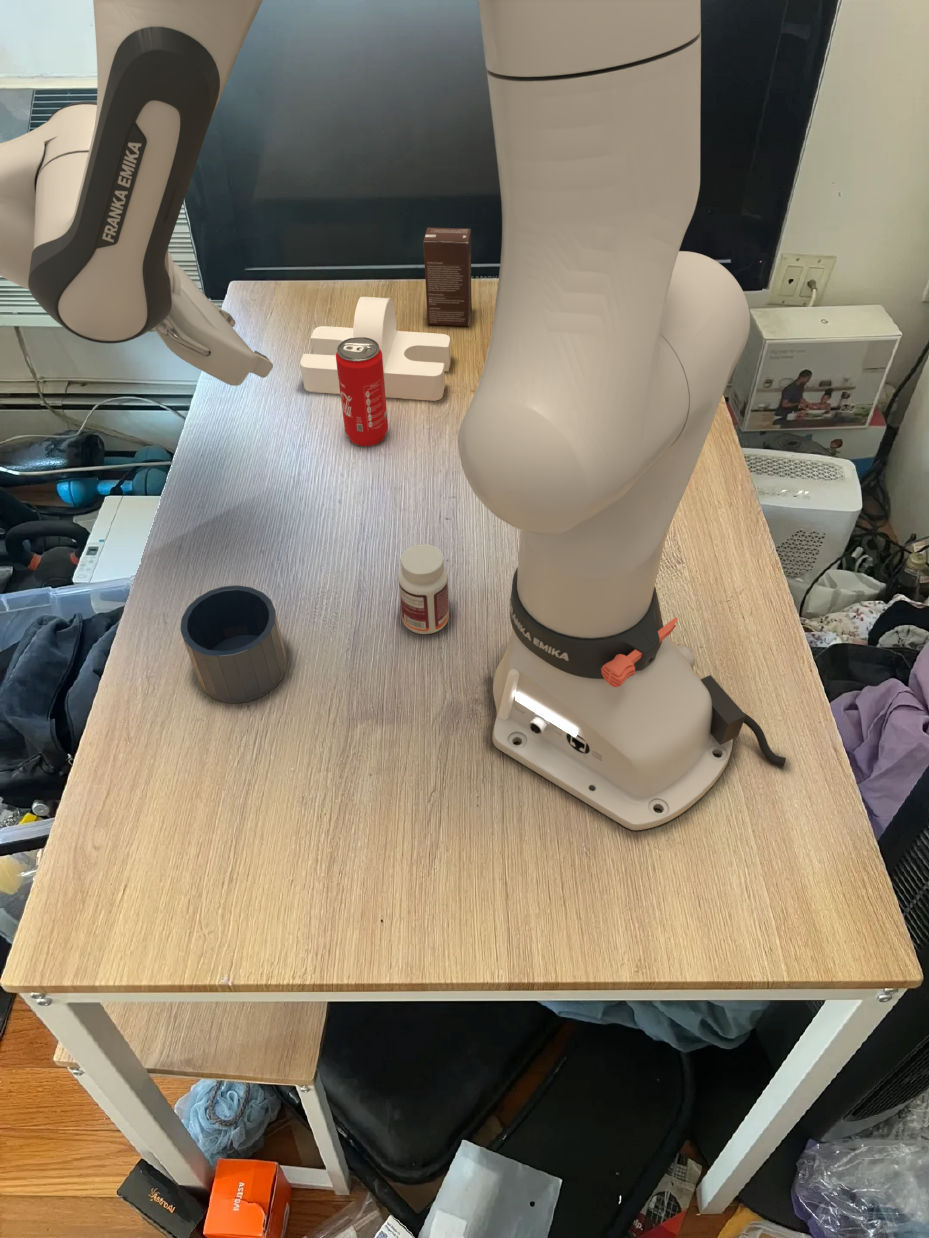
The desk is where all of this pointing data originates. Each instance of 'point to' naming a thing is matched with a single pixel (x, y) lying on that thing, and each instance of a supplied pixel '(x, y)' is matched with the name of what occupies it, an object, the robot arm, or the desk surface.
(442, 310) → the box
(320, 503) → the desk surface
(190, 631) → the faceted open cup
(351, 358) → the beverage can
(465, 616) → the desk surface
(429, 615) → the pill bottle
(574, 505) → the robot arm
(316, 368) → the white u-slot block
